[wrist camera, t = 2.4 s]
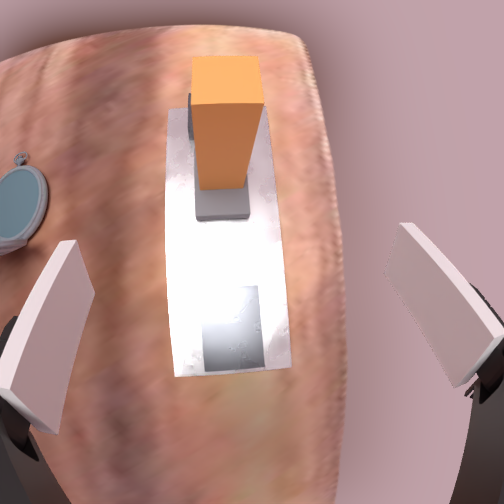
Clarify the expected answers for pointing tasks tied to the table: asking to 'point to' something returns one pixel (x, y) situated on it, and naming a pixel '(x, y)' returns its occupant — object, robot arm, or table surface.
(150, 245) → the table surface
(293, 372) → the table surface
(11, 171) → the pocket watch
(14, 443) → the robot arm
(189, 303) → the base
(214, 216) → the handle
